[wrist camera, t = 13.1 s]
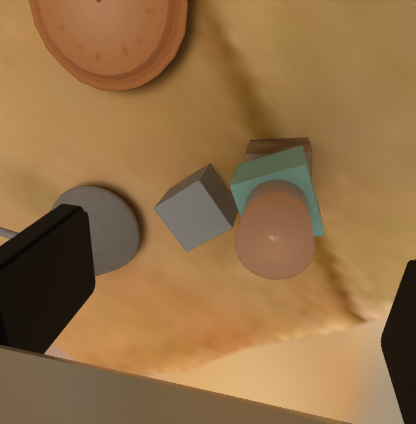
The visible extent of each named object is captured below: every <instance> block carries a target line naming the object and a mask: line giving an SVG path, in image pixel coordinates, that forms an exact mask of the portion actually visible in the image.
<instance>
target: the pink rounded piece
mask: <svg viewBox="0 0 416 424" xmlns="http://www.w3.org/2000/svg"><path fill="white" fill-rule="evenodd" d="M235 246H236V252H237V255H238V258H239V259H240V261H241V263H242V264H243V265H244V266H245V267H246V268H247V269H248V270H249V271H251V272H252V273H254V274H255V275H257V276H260V277H262V278H266V279H272V280H280V279H287V278H290V277H293V276H295V275H297V274H299V273H301V272H302V271H303V270H304V269H305V268H306V267H307V266H308V265H309V264H310V262H311V260H312V258H313V256H314V252H315V241H314V235H313V228H312V222H311V215H310V208H309V203H308V199H307V197H306V195H305V194H304V192H303V191H302V190H301V189H300V188H299V187H298V186H296V185H295V184H293V183H291V182H288V181H285V180H269V181H265V182H263V183H261V184H259V185H257V186H256V187H255V188H254V189H253V190H252V191H251V192H250V193H249V195H248V197H247V199H246V203H245V206H244V210H243V214H242V217H241V221H240V225H239V229H238V232H237V236H236V242H235Z"/></svg>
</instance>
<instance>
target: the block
mask: <svg viewBox="0 0 416 424" xmlns="http://www.w3.org/2000/svg"><path fill="white" fill-rule="evenodd" d="M154 210H155V211H156V212H157V214H158V215H159V216H160V218H161V219H162V220H163V222H164V223H165V224H166V226H167V227H168V228H169V230H170V231H171V232H172V234H173V235H174V236H175V238H176V239H177V240H178V242H179V243H180V244H181V246H182V247H183V248H184V250H185V251H186V252H188V251H190V250H192V249H194V248H195V247H197V246H199V245H201V244H203V243H205V242H207V241H209V240H210V239H212V238H214V237H216V236H218V235H220V234H222V233H224V232H226V231H227V230H229V229H231V228H232V227H233V224H234V221H235V217H236V214H237V211H238V208H237V206H236V203H235V200H234V197H233V196H232V195H231V193H230V192H229V190H228V189H227V187H226V186H225V184H224V183H223V181H222V180H221V178H220V177H219V175H218V174H217V172H216V171H215V170H214V168H213V167H212V165H211V164H208V165H207V166H205V167H204V168H202V169H200V170H199V171H197V172H196V173H194V174H193V175H191V176H189V177H188V178H186V179H185V180H183V181H182V182H180V183H178V184H177V185H175V186H174V187H172V188H170V189H169V190H168V192H167V193H166V194H165V195H164V196H163V198H162V199H161V200H160V201H159V202H158V203H157V205H156V206H155V207H154Z"/></svg>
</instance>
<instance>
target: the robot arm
mask: <svg viewBox="0 0 416 424" xmlns="http://www.w3.org/2000/svg"><path fill="white" fill-rule="evenodd" d="M94 288H95V273H94V263H93V253H92V244H91V234H90V224H89V216H88V213H87V212H86V211H84V209H83V208H82V207H81V206H77V205H70V204H61V205H59V206H58V207H56V208H55V209H53V210H52V211H50V212H49V213H48V214H46V215H45V216H43V217H42V218H40V219H39V220H37V221H36V222H35V223H33V224H32V225H30V226H29V227H27V228H26V229H24V230H23V231H22V232H20V233H19V234H17V235H16V236H14V237H13V238H11V239H10V240H8V241H7V242H6V243H4V244H3V245H1V246H0V424H351V423H346V422H342V421H338V420H333V419H329V418H325V417H320V416H316V415H312V414H308V413H302V412H299V411H294V410H290V409H286V408H282V407H277V406H273V405H268V404H264V403H260V402H256V401H251V400H247V399H242V398H237V397H234V396H229V395H224V394H220V393H216V392H211V391H207V390H203V389H198V388H193V387H189V386H185V385H180V384H176V383H171V382H167V381H162V380H158V379H154V378H149V377H145V376H140V375H136V374H131V373H127V372H122V371H118V370H113V369H109V368H104V367H100V366H95V365H91V364H86V363H81V362H77V361H72V360H68V359H63V358H58V357H53V356H49V355H45V354H44V353H45V352H46V350H47V349H48V348H49V347H50V345H51V344H52V343H53V342H54V340H55V339H56V338H57V337H58V335H59V334H60V333H61V332H62V330H63V329H64V328H65V327H66V325H67V324H68V323H69V322H70V320H71V319H72V318H73V317H74V315H75V314H76V313H77V312H78V310H79V309H80V308H81V307H82V305H83V304H84V303H85V302H86V300H87V299H88V298H89V297H90V295H91V294H92V293H93V291H94ZM381 347H382V351H383V354H384V358H385V361H386V364H387V368H388V371H389V374H390V377H391V381H392V384H393V387H394V391H395V394H396V398H397V401H398V404H399V408H400V411H401V414H402V418H403V421H404V424H416V260H410V261H409V262H408V264H407V266H406V269H405V272H404V274H403V277H402V280H401V283H400V286H399V288H398V291H397V294H396V297H395V300H394V302H393V305H392V308H391V311H390V314H389V316H388V319H387V322H386V325H385V328H384V331H383V333H382V337H381Z"/></svg>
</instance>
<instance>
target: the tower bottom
mask: <svg viewBox="0 0 416 424" xmlns="http://www.w3.org/2000/svg"><path fill="white" fill-rule="evenodd" d="M301 145H302V146H303V149H304V153H305V157H306V160H307V164H308V168H309V172H310V175H311V173H312V150H311V146H310V142H309V139H308V138H288V139H265V140H250V142H249V145H248V148H247V150H246V153H245V162H248V161H251V160H255V159H258V158H261V157H265V156H268V155H271V154H275V153H278V152H281V151H285V150H288V149H291V148H295V147H298V146H301Z"/></svg>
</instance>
